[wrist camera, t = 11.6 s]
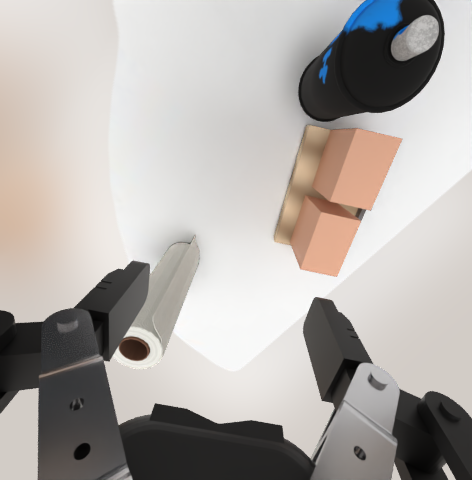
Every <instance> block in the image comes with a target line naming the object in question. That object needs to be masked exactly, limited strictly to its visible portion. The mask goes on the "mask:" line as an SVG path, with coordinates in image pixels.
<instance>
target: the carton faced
mask: <svg viewBox="0 0 472 480" xmlns="http://www.w3.org/2000/svg"><path fill="white" fill-rule="evenodd" d="M401 141H402V139H401V138H397V137H392V136H388V135H384V134H380V133H375V132H371V131H367V130H362V129H358V128H353V129H336V130H330V133H329V136H328V139H327V142H326V145H325V148H324V151H323V154H322V157H321V160H320V163H319V166H318V169H317V172H316V175H315V178H314V182H313V185H312V187H313V188H314V189H315V190H316V191H318V192H319V193H320V194H321V195H323V196H324V197H325V198H326V199H327V200H329V201H330V202H334V203H339V204H344V205H348V206H353V207H357V208H362V209H366V210H371V209H372V206H373V204H374V202H375V200H376V197H377V195H378V193H379V191H380V188H381V186H382V184H383V182H384V179H385V177H386V175H387V173H388V170H389V168H390V166H391V164H392V161H393V159H394V157H395V155H396V152H397V150H398V148H399V146H400V143H401Z"/></svg>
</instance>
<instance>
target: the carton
mask: <svg viewBox="0 0 472 480" xmlns="http://www.w3.org/2000/svg"><path fill="white" fill-rule="evenodd" d="M360 223H361V221H360V220H359V219H358V218H357V217H355V216H354V215H353V214H351V213H350V212H349V211H347V210H346V209H345V208H343V207H342V206H341V205H339V204H338V203H334V202H330V201H328V200H324V199H319V198H315V197H311V196H306V195H305V198H304V201H303V204H302V207H301V210H300V213H299V216H298V219H297V222H296V225H295V228H294V231H293V234H292V237H291V240H290V244H291V246H292V249H293V251H294V254H295V256H296V259H297V262H298V264H299V267H300V269H302V270H307V271H311V272H316V273H321V274H326V275H330V276H335V277H337V275H338V273H339V271H340V268H341V266H342V264H343V262H344V259H345V257H346V255H347V253H348V250H349V248H350V246H351V243H352V241H353V239H354V237H355V234H356V232H357V230H358V227H359V225H360Z"/></svg>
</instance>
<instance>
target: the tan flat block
mask: <svg viewBox="0 0 472 480" xmlns="http://www.w3.org/2000/svg"><path fill="white" fill-rule="evenodd" d="M329 133H330V130H329V129H325V128H321V127H316V126H312V125H306V129H305V132H304V136H303V139H302V142H301V146H300V149H299V153H298V156H297V159H296V163H295V166H294V170H293V173H292V176H291V180H290V183H289V187H288V190H287V193H286V197H285V200H284V204H283V207H282V211H281V214H280V217H279V221H278V224H277V228H276V231H275V234H274V241H275V242H277V243H282V244H287V245H291V244H290V240H291V237H292V234H293V231H294V228H295V225H296V222H297V219H298V216H299V213H300V210H301V207H302V204H303V201H304V198H305V195H306V196H311V197H315V198H319V199H324V200H327V199H326V198H325V197H324V196H323V195H321V194H320V193H319V192H318V191H316V190H315V189H314V188H313V187H312V185H313V182H314V178H315V175H316V172H317V169H318V166H319V163H320V160H321V157H322V154H323V151H324V148H325V145H326V142H327V139H328V136H329ZM328 201H329V200H328ZM338 204H339V203H338ZM339 205H341V206H342V207H343V208H345V209H346V210H347V211H349V212H350V213H351V214H353V215H354V216H355V217H357V218H358V219H359V220H360V221H361V220H362V218H363V216H364V213H365V211H366V209H362V208H357V207H353V206H348V205H344V204H339Z"/></svg>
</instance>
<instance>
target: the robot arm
mask: <svg viewBox="0 0 472 480" xmlns="http://www.w3.org/2000/svg"><path fill="white" fill-rule="evenodd" d="M149 274H150V265H149V264H148V263H143V262H138V261H132V262H131V263H130V264H129V265H128V266H127V267H126V268H125V269H124V270H123V269H117V270H115V271H113V272H111V273H109V274H107V275H106V276H105V277H104V278H103V279H102V280H101V282H99V283H98V284H97V285H96V287H95V288H93V289H92V290H91V291H90V292H89V293H88V294H87V295H86V296H85V297H84V298H83V299H82V300H81V301H80V302H79V303H78V304H77V305H76V306H75V307H74V308H70V309H65V310H61V311H58V312H56V313H54V314H52V315H50V316H49V317H48V318H47V319H46V320H45V321H44V322H30V323H15V319H14V316H13V315H12V314H11V313H9V312H6V311H1V310H0V413H1V412H2V411H3V410H4V408H5V407H6V406H7V405H8V404H9V402H10V401H11V400H12V399H13V397H14V396H15V395H16V394H17V393H18V391H19V390H25V389H33V388H39V401H38V402H39V403H38V480H391V478H392V472H393V466H394V462H395V465H396V467H397V470H398V472H399V475H400V477H401V480H448V478H447V476H446V475H445V473H444V471H443V469H442V467H443V465H445V464H446V463H447V464H448V466H449V468H450V470H451V471H452V473H453V475H454V477H455V479H456V480H472V418H471V417H470V416H469V415H468V413H467V412H466V411H465V410H464V409H463V408H462V407H461V406H460V405H458V404H457V403H456V402H454V401H453V400H452V399H450V398H449V397H447V396H445V395H443V394H441V393H438V392H434V391H430V392H427V393H426V394H425V395H424V397H423V398H422V399H420V398H418V397H416V396H413V395H412V394H409V393H407V392H405V391H403V390H400V389H399V387H398V385H397V383H396V381H395V380H394V379H393V378H392V377H391V376H390V375H389V374H388V373H387V372H386V371H385V370H383V369H382V368H380V367H378V366H376V365H374V364H373V363H372V361H371V359H370V357H369V355H368V354H367V352H366V350H365V348H364V346H363V344H362V343H361V341H360V339H358V338H359V337H358V335H357V334H356V332H355V330H354V328H353V326H352V324H351V322H350V321H349V320H348V319H347V318H346V317H345V316H344V315H343V314H342V313H340V312H338V310H337V309H336V307H335V305H334V303H333V301H332V300H328V299H323V298H318V297H315V298H314V300H313V302H312V304H311V307H310V309H309V312H308V314H307V317H306V320H305V322H304V327H303V334H304V338H305V341H306V345H307V348H308V352H309V356H310V360H311V363H312V367H313V370H314V374H315V377H316V381H317V385H318V388H319V392H320V396H321V399H322V401H326V402H331V403H333V404H334V407H335V409H334V410H333V412H332V414H331V417H330V419H329V421H328V423H327V425H326V427H325V429H324V431H323V433H322V436H321V438H320V440H319V442H318V444H317V447H316V448H315V451H314V453H313V455H312V457H311V458H309V457H308V456H307V455H306V454H305V453H304V452H303V451H302V450H301V449H299V448H298V447H297V446H296V445H294V444H293V443H291V442H290V441H288V440H286V439H284V437H283V428H282V426H281V425H275V424H269V423H264V422H258V421H252V420H250V421H242V422H233V423H224V424H217V423H215V422H213V421H210V420H209V419H206V418H204V417H202V416H200V415H198V414H196V413H194V412H192V411H190V410H188V409H184V408H178V407H173V406H167V405H161V404H155V405H154V408H153V411H152V414H151V415H145V416H140V417H136V418H134V419H131V420H128V421H126V422H124V423H122V424H120V425H118V422H117V417H116V413H115V409H114V404H113V400H112V395H111V391H110V387H109V382H108V378H107V373H106V369H105V365H104V361H110V359H111V358H112V356H113V354H114V353H115V351H116V349H117V348H118V346H119V345H120V343H121V341H122V340H123V338H124V336H125V335H126V333H127V331H128V330H129V328H130V327H131V325H132V323H133V322H134V320H135V318H136V317H137V315H138V313H139V312H140V310H141V309H142V307H143V305H144V304H145V301H146V299H147V295H148V288H149Z"/></svg>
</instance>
